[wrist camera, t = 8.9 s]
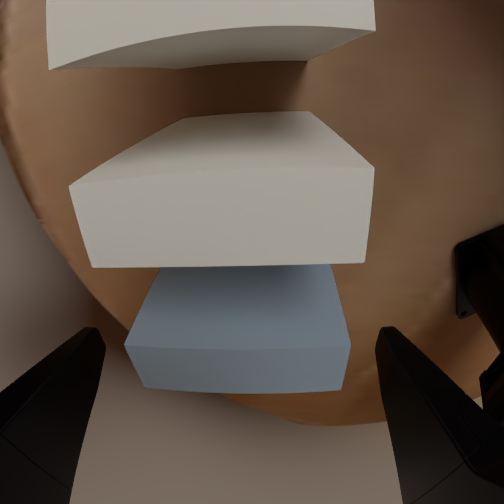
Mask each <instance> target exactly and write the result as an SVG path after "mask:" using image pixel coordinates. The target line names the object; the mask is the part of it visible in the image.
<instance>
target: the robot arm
mask: <svg viewBox="0 0 504 504" xmlns="http://www.w3.org/2000/svg"><path fill="white" fill-rule="evenodd" d="M463 249H464V250H463ZM462 250H463V251H462ZM461 251H462V252H461ZM455 263H456V315H457V316H458V318H459V319H463V318H465V317H468V316H470V315H472V314H474V313H477V315H478V316H479V318H480V319H481V321H482V323H483V324H484V326H485V327H486V329H487V331H488V332H489V334H490V336H491V337H492V339H493V341H494V342H495V344H496V346H497V348H498V349H499V351H500V354H499V355H498V356H497V358H496V359H495V360H494V361H493V363H492V364H491V365H490V366H489V368H488V369H487V370H485V371H484V372H483V373H482V374H481V375H480V377H479V381H480V388H481V396H482V404H483V409H482V408H481V407H479V405H477V404H476V403H475V402H474V401H473V400H472V399H471V398H470V397H469V396H468V395H467V394H466V395H465V392H464V391H463V390H462V389H461V388H460V387H459V386H458V385H457V384H456V383H454V382H453V381H452V380H451V379H450V378H449V377H448V376H447V375H446V374H445V373H444V372H443V371H442V370H441V369H440V368H439V367H438V366H437V365H435V364H434V363H433V362H432V361H431V360H430V359H429V358H428V357H427V356H426V355H425V354H424V353H423V352H422V351H420V350H419V349H418V348H417V347H416V346H415V345H414V344H413V343H412V342H411V341H410V340H409V339H407V338H406V337H405V336H404V335H403V334H402V333H401V332H400V331H399V330H398V329H396V328H395V327H394V326H389V327H382V328H381V329H380V331H379V335H378V339H377V342H376V346H375V354H376V361H377V368H378V376H379V383H380V391H381V397H382V402H383V406H384V410H385V414H386V419H387V423H388V428H389V432H390V437H391V441H392V446H393V451H394V456H395V461H396V466H397V472H398V477H399V482H400V489H401V495H402V501H403V504H504V225H502V226H499V227H497V228H494V229H492V230H490V231H487V232H485V233H482V234H480V235H478V236H475V237H473V238H470V239H468V240H465V241H463V242H460V243H459V244H458V245H457V246H456V248H455ZM105 352H106V346H105V343H104V341H103V339H102V336H101V334H100V332H99V330H98V329H97V328H96V327H85V328H83V329H82V330H80V331H79V332H78V333H76V334H75V335H74V336H72V337H71V338H70V339H68V340H67V341H66V342H64V343H63V344H62V345H61V346H59V347H58V348H57V349H55V350H54V351H53V352H51V353H50V354H49V355H48V356H46V357H45V358H44V359H42V360H41V361H40V362H38V363H37V364H36V365H34V366H33V367H32V368H31V369H29V370H28V371H27V372H25V373H24V374H23V375H22V376H20V377H19V378H18V379H17V380H15V381H14V382H13V383H11V384H10V385H9V386H8V387H6V388H5V389H4V390H3V391H1V392H0V504H69V502H70V496H71V492H72V487H73V482H74V477H75V473H76V468H77V464H78V460H79V456H80V451H81V448H82V443H83V440H84V436H85V432H86V428H87V425H88V421H89V418H90V414H91V410H92V407H93V404H94V400H95V397H96V393H97V390H98V385H99V381H100V376H101V371H102V366H103V361H104V357H105Z"/></svg>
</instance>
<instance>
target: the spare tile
mask: <svg viewBox="0 0 504 504" xmlns="http://www.w3.org/2000/svg"><path fill="white" fill-rule="evenodd" d="M124 346H125V348H126V350H127V352H128V355H129V357H130V359H131V361H132V363H133V365H134V367H135V369H136V371H137V373H138V375H139V377H140V379H141V381H142V383H143V385H144V387H145V388H153V389H164V390H176V391H190V392H209V393H241V394H269V393H303V392H321V391H335V390H341V388H342V384H343V380H344V375H345V371H346V367H347V362H348V357H349V353H350V348H351V343H350V339H349V334H348V330H347V326H346V322H345V318H344V314H343V310H342V306H341V302H340V298H339V294H338V291H337V287H336V283H335V279H334V276H333V272H332V268H331V265H330V264H305V265H262V266H208V267H161V268H160V269H159V271H158V274H157V276H156V278H155V280H154V282H153V284H152V286H151V288H150V290H149V292H148V294H147V296H146V298H145V300H144V302H143V304H142V306H141V309H140V311H139V313H138V315H137V317H136V319H135V321H134V324H133V326H132V328H131V330H130V332H129V335H128V337H127V339H126V341H125V343H124Z"/></svg>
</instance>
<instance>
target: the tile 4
mask: <svg viewBox="0 0 504 504" xmlns="http://www.w3.org/2000/svg"><path fill="white" fill-rule="evenodd" d="M374 170H375V168H374V167H373V166H372V165H371V164H370V163H369V162H368V161H366V160H365V159H364V158H363V157H362V156H361V155H360V154H359V153H358V152H357V151H356V150H354V149H353V148H352V147H351V146H350V145H349V144H348V143H347V142H345V141H344V140H343V139H342V138H341V137H340V136H339V135H337V134H336V133H335V132H334V131H333V130H332V129H330V128H329V127H328V126H327V125H326V124H324V123H323V122H322V121H321V120H320V119H318V118H317V117H316V116H315V115H313V114H312V113H311V112H310V111H283V112H253V113H235V114H221V115H210V116H199V117H189V118H183V119H181V120H179V121H177V122H175V123H173V124H171V125H169V126H167V127H165V128H164V129H162V130H160V131H158V132H156V133H154V134H152V135H151V136H149V137H147V138H145V139H143V140H142V141H140V142H138V143H136V144H135V145H133V146H131V147H129V148H128V149H126V150H124V151H123V152H121V153H119V154H118V155H116V156H114V157H113V158H111V159H109V160H108V161H106V162H105V163H103V164H101V165H100V166H98V167H97V168H95V169H94V170H92V171H90V172H89V173H87V174H86V175H84V176H83V177H81V178H80V179H78V180H77V181H75V182H74V183H72V184H71V185H70V186H69V190H70V194H71V198H72V202H73V206H74V209H75V213H76V217H77V220H78V224H79V227H80V231H81V234H82V237H83V240H84V244H85V247H86V250H87V253H88V256H89V259H90V262H91V265H92V268H120V267H208V266H262V265H305V264H342V263H364V262H365V255H366V248H367V240H368V232H369V224H370V215H371V205H372V195H373V183H374Z"/></svg>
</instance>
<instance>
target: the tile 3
mask: <svg viewBox="0 0 504 504" xmlns="http://www.w3.org/2000/svg"><path fill="white" fill-rule="evenodd" d="M46 26H47V50H48V64H49V70H59V69H72V68H92V67H148V68H168V69H184V68H191V67H199V66H208V65H217V64H228V63H241V62H259V61H308V60H311V59H313V58H315V57H317V56H319V55H321V54H323V53H325V52H327V51H330V50H332V49H334V48H336V47H339V46H341V45H343V44H345V43H348V42H350V41H353V40H355V39H357V38H360V37H362V36H365V35H367V34H370V33H372V32H375V31H376V27H375V13H374V1H373V0H46Z"/></svg>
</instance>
